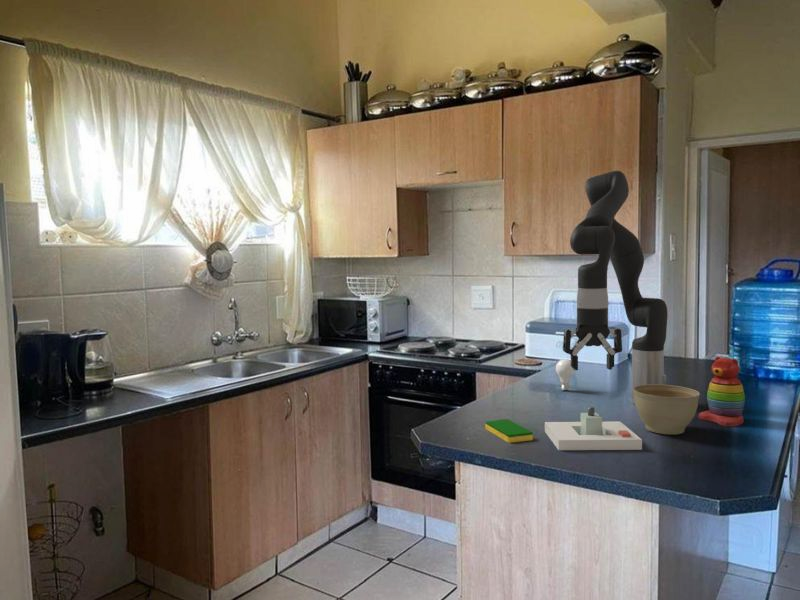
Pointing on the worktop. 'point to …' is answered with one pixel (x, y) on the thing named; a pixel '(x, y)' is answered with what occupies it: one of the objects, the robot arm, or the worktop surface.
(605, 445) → the socket plate
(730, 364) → the stacking bear
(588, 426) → the plug
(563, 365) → the lightbulb
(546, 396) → the worktop surface
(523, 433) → the dish sponge
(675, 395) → the planter bowl
